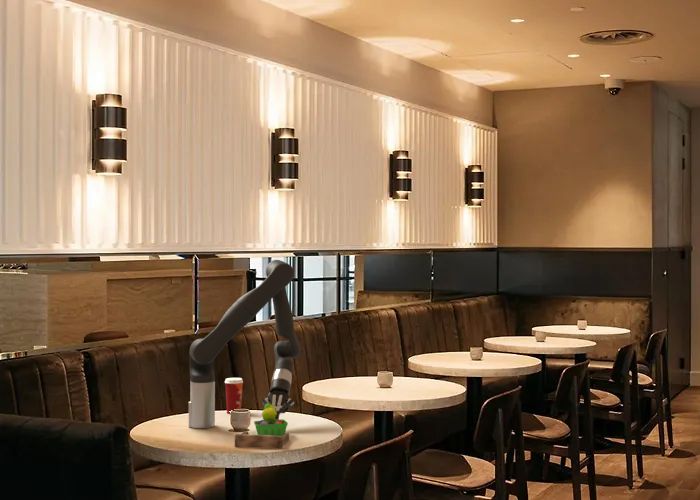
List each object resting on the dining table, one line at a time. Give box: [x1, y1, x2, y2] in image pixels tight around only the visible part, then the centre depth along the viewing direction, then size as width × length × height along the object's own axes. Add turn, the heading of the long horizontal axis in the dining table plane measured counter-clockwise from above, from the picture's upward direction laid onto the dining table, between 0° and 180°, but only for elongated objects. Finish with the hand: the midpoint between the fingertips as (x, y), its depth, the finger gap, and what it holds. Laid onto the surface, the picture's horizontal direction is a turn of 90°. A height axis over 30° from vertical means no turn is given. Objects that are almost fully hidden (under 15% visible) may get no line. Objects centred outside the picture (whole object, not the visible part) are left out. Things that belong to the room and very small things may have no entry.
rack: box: [234, 430, 290, 449], centre depth 340 cm, size 16×14×4 cm
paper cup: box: [224, 377, 244, 415], centre depth 395 cm, size 8×8×14 cm
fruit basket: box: [253, 403, 289, 436], centre depth 353 cm, size 11×9×11 cm
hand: (274, 421), depth 360 cm, fingers closed
